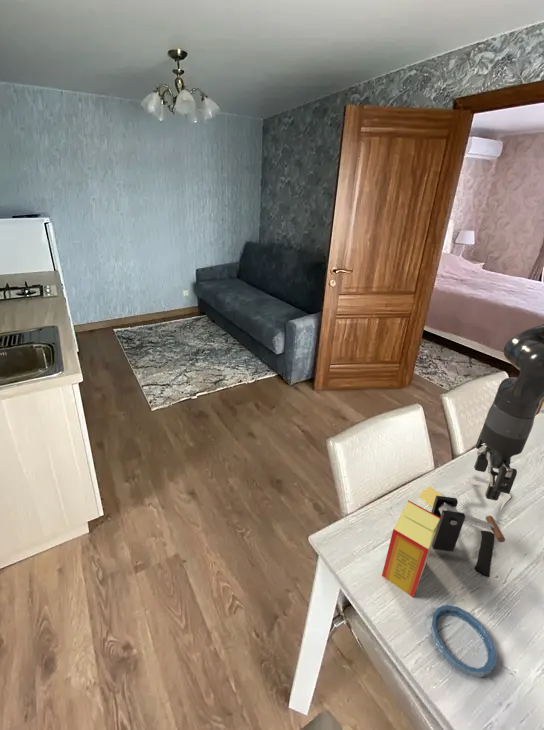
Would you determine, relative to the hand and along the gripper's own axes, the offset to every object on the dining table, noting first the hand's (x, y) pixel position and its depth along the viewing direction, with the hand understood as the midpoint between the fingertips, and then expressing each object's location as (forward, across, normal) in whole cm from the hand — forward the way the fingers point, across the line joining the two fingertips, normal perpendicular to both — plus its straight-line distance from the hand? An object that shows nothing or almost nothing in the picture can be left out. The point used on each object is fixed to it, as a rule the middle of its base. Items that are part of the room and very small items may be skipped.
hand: (484, 483), depth 79 cm
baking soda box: (+18, -14, +15) cm, 28 cm away
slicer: (+17, -5, +7) cm, 19 cm away
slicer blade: (+9, -4, +2) cm, 10 cm away
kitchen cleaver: (+17, +5, -4) cm, 19 cm away
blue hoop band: (+17, -25, +7) cm, 31 cm away
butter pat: (+17, +8, +7) cm, 20 cm away
